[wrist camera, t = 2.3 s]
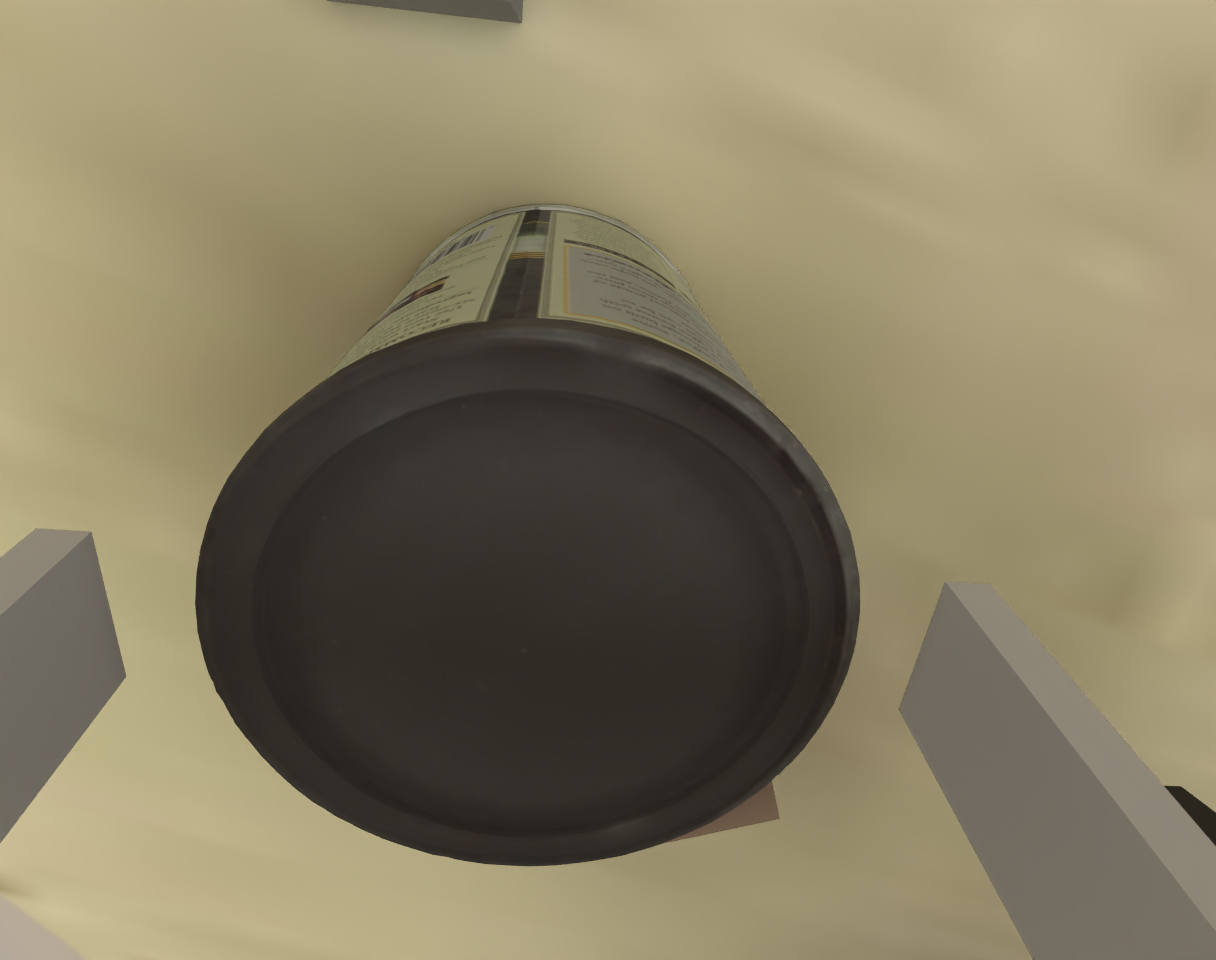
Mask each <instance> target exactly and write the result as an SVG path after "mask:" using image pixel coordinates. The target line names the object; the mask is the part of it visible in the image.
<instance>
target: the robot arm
mask: <svg viewBox="0 0 1216 960" xmlns="http://www.w3.org/2000/svg"><path fill="white" fill-rule="evenodd" d="M125 678H126V673H125V669H124V665H123V661H122V657H121V653H120V648H119V644H118V640H117V636H116V632H115V628H114V624H113V620H112V615H111V611H110V607H109V603H108V599H107V595H106V591H105V586H104V582H103V578H102V574H101V570H100V566H99V562H98V557H97V553H96V549H95V545H94V541H93V537H92V533H91V532H88V531H71V530H54V529H37V528H36V529H35V530H33V531H32V532H31V533H30V534H29V535H27V536H26V537H25V538H24V539H22V540H21V541H20V542H19V543H18V544H16V545H15V546H14V547H13V548H12V549H10V550H9V551H8V552H7V553H5V554H4V555H3V556H2V557H1V558H0V843H1V842H2V840H3V839H4V838H5V836H6V835H7V834H8V832H9V831H10V830H11V828H12V827H13V826H14V824H15V823H16V822H17V820H18V819H19V818H20V816H21V815H22V814H23V812H24V811H25V810H26V809H27V807H28V806H29V805H30V803H31V802H32V801H33V799H34V798H35V797H36V795H37V794H38V793H39V791H40V790H41V789H42V787H43V786H44V785H45V783H46V782H47V781H48V779H49V778H50V777H51V775H52V774H53V773H54V771H55V770H56V769H57V768H58V766H59V765H60V764H61V762H62V761H63V760H64V758H65V757H66V756H67V754H68V753H69V752H70V750H71V749H72V748H73V746H74V745H75V744H76V742H77V741H78V740H79V738H80V737H81V736H82V734H83V733H84V732H85V731H86V729H87V728H88V727H89V725H90V724H91V723H92V721H93V720H94V719H95V717H96V716H97V715H98V713H99V712H100V711H101V709H102V708H103V707H104V705H105V704H106V703H107V701H108V700H109V699H110V697H111V696H112V695H113V693H114V692H115V691H116V690H117V688H118V687H119V686H120V684H121V683H122V682H123V680H124V679H125ZM899 711H900V713H901V714H902V716H903V718H904V720H905V722H906V724H907V726H908V727H909V729H910V731H911V733H912V735H913V737H914V739H915V740H916V742H917V744H918V746H919V748H920V750H921V752H922V753H923V755H924V757H925V759H926V761H927V763H928V765H929V766H930V768H931V770H932V772H933V774H934V776H935V778H936V780H937V781H938V783H939V785H940V787H941V789H942V791H943V793H944V794H945V796H946V798H947V800H948V802H949V804H950V806H951V807H952V809H953V811H954V813H955V815H956V817H957V819H958V820H959V822H960V824H961V826H962V828H963V830H964V832H965V833H966V835H967V837H968V839H969V841H970V843H971V845H972V846H973V848H974V850H975V852H976V854H977V856H978V858H979V860H980V861H981V863H982V865H983V867H984V869H985V871H986V873H987V874H988V876H989V878H990V880H991V882H992V884H993V886H994V887H995V889H996V891H997V893H998V895H999V897H1000V899H1001V900H1002V902H1003V904H1004V906H1005V908H1006V910H1007V912H1008V913H1009V915H1010V917H1011V919H1012V921H1013V923H1014V925H1015V926H1016V928H1017V930H1018V932H1019V934H1020V936H1021V938H1022V940H1023V941H1024V943H1025V945H1026V947H1027V949H1028V951H1029V953H1030V954H1031V956H1032V958H1033V960H1216V813H1215V812H1214V811H1213V810H1211V809H1210V808H1209V807H1207V806H1206V805H1205V804H1204V803H1202V802H1201V801H1200V800H1198V799H1197V798H1196V797H1194V796H1193V795H1192V794H1190V793H1189V792H1188V791H1186V790H1185V789H1184V788H1182V787H1181V786H1163V784H1162V783H1161V782H1160V781H1159V780H1158V779H1157V777H1156V776H1155V775H1154V774H1153V773H1152V772H1151V770H1150V769H1149V768H1148V767H1147V766H1146V765H1145V763H1144V762H1143V761H1142V760H1141V759H1140V758H1139V757H1138V755H1137V754H1136V753H1135V752H1134V751H1133V750H1132V748H1131V747H1130V746H1129V745H1128V744H1127V743H1126V741H1125V740H1124V739H1123V738H1122V737H1121V736H1120V734H1119V733H1118V732H1117V731H1116V730H1115V729H1114V727H1113V726H1112V725H1111V724H1110V723H1109V722H1108V720H1107V719H1106V718H1105V717H1104V716H1103V715H1102V714H1101V712H1100V711H1099V710H1098V709H1097V708H1096V707H1095V705H1094V704H1093V703H1092V702H1091V701H1090V700H1089V698H1088V697H1087V696H1086V695H1085V694H1084V693H1083V691H1082V690H1081V689H1080V688H1079V687H1078V686H1077V684H1076V683H1075V682H1074V681H1073V680H1072V679H1071V677H1070V676H1069V675H1068V674H1067V673H1066V672H1065V671H1064V669H1063V668H1062V667H1061V666H1060V665H1059V664H1058V662H1057V661H1056V660H1055V659H1054V658H1053V657H1052V655H1051V654H1050V653H1049V652H1048V651H1047V650H1046V648H1045V647H1044V646H1043V645H1042V644H1041V643H1040V641H1039V640H1038V639H1037V638H1036V637H1035V636H1034V634H1033V633H1032V632H1031V631H1030V630H1029V629H1028V628H1027V626H1026V625H1025V624H1024V623H1023V622H1022V621H1021V619H1020V618H1019V617H1018V616H1017V615H1016V614H1015V612H1014V611H1013V610H1012V609H1011V608H1010V607H1009V605H1008V604H1007V603H1006V602H1005V601H1004V600H1003V598H1002V597H1001V596H1000V595H999V594H998V593H997V592H996V590H995V589H994V588H993V587H992V586H991V585H990V584H979V583H962V582H945V584H944V586H943V589H942V592H941V595H940V597H939V600H938V603H937V606H936V608H935V611H934V614H933V617H932V619H931V622H930V625H929V628H928V631H927V633H926V636H925V639H924V642H923V644H922V647H921V650H920V653H919V655H918V658H917V661H916V664H915V666H914V669H913V672H912V675H911V677H910V680H909V683H908V686H907V688H906V691H905V694H904V697H903V699H902V702H901V705H900V708H899Z"/></svg>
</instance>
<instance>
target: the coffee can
mask: <svg viewBox="0 0 1216 960" xmlns="http://www.w3.org/2000/svg"><path fill="white" fill-rule="evenodd" d="M195 606H196V617H197V629H198V635H199V639H200V643H201V648H202V652H203V656H204V660H205V663H206V666H207V669H208V672H209V675H210V677H211V679H212V681H213V682H214V686H215V689H216V692H217V693H218V695H219V696H220V697H221V699H222V700H223V702H224V704H225V706H226V707H227V709H228V711H229V713H230V715H231V717H232V718H233V720H234V722H235V724H236V725H237V726H238V727H239V729H240V730H241V731H242V733H243V734H244V735H245V737H246V738H247V739H248V740H249V741H250V743H251V744H252V745H253V746H254V747H255V749H256V750H257V751H258V752H259V753H260V755H261V756H262V757H263V758H264V759H265V760H266V761H267V762H268V763H269V764H270V765H271V766H272V767H273V768H274V769H275V770H276V771H277V772H278V773H279V774H280V775H281V776H282V777H283V778H284V779H285V780H287V781H288V782H289V783H290V784H291V785H292V786H293V787H294V788H295V789H297V790H298V791H299V792H301V793H302V794H303V795H305V796H306V797H307V798H309V799H310V800H311V801H313V802H314V803H316V804H317V805H319V806H321V807H322V808H324V809H326V810H327V811H329V812H330V813H332V814H333V815H335V816H337V817H339V818H341V819H343V820H345V821H347V822H349V823H351V824H353V825H354V826H356V827H358V828H360V829H362V830H364V831H367V832H369V833H372V834H374V835H376V836H379V837H381V838H383V839H386V840H389V841H391V842H394V843H397V844H400V845H403V846H406V847H410V848H413V849H416V850H419V851H423V852H426V853H429V854H432V855H439V856H445V857H450V858H453V859H458V860H463V861H469V862H476V863H482V864H495V865H512V866H548V865H562V864H571V863H580V862H587V861H595V860H600V859H606V858H611V857H617V856H622V855H626V854H629V853H633V852H636V851H639V850H643V849H646V848H650V847H653V846H656V845H659V844H662V843H664V842H667V841H669V840H672V839H675V838H677V837H680V836H683V835H685V834H687V833H690V832H692V831H694V830H696V829H699V828H701V827H703V826H705V825H707V824H709V823H712V822H713V821H715V820H717V819H718V818H720V817H722V816H723V815H725V814H727V813H728V812H730V811H732V810H733V809H735V808H736V807H738V806H739V805H741V804H742V803H744V802H745V801H746V800H748V799H749V798H751V797H752V796H754V795H755V794H756V793H758V792H759V791H760V790H762V789H763V788H764V787H765V786H766V785H768V784H769V783H770V782H771V781H772V780H773V779H774V778H775V776H777V775H778V774H780V773H781V772H782V771H783V769H784V768H785V767H786V766H788V765H789V764H790V763H791V762H792V761H793V760H794V759H795V758H796V757H797V755H798V754H799V753H800V752H801V751H802V750H803V749H804V748H805V746H806V745H807V743H808V742H809V741H810V739H811V738H812V737H813V735H814V734H815V733H816V731H817V730H818V729H819V728H820V726H821V724H822V722H823V721H824V719H825V717H826V716H827V714H828V712H829V711H830V709H831V708H832V706H833V704H834V702H835V700H836V697H837V695H838V693H839V691H840V689H841V686H842V684H843V682H844V680H845V677H846V675H847V672H848V669H849V666H850V662H851V659H852V655H853V652H854V647H855V643H856V637H857V630H858V623H859V615H860V585H859V572H858V567H857V562H856V556H855V551H854V547H853V542H852V537H851V533H850V530H849V528H848V525H847V523H846V521H845V518H844V516H843V513H842V511H841V509H840V506H839V504H838V501H837V499H836V497H835V495H834V493H833V491H832V489H831V487H830V485H829V483H828V481H827V480H826V478H825V477H824V475H823V473H822V472H821V470H820V469H819V467H818V465H817V464H816V463H815V461H814V460H813V459H812V457H811V456H810V455H809V453H808V452H807V451H806V449H805V448H804V447H803V445H802V444H801V443H800V442H799V440H798V439H797V438H796V437H795V436H794V435H793V434H792V433H791V431H790V430H789V429H788V428H787V427H786V426H785V425H784V424H783V423H782V422H781V421H780V420H779V419H778V418H777V417H776V416H775V415H774V414H773V413H772V412H771V411H770V410H768V409H767V407H766V406H765V404H764V403H763V401H762V400H761V398H760V397H759V395H758V394H757V392H756V391H755V389H754V388H753V386H752V385H751V383H750V382H749V380H748V379H747V377H746V376H745V374H744V373H743V372H742V370H741V369H740V367H739V366H738V364H737V363H736V361H735V360H734V358H733V357H732V355H731V354H730V352H729V351H728V349H727V348H726V346H725V345H724V343H723V341H722V339H721V338H720V337H719V335H718V334H717V333H716V331H715V330H714V328H713V327H712V326H711V324H710V323H709V321H708V320H707V318H706V316H705V315H704V313H703V311H702V310H701V309H700V307H699V306H698V304H697V302H696V300H695V298H694V296H693V294H692V292H691V290H690V288H689V286H688V284H687V283H686V281H685V280H684V278H683V277H682V275H681V274H680V273H679V271H678V270H677V269H676V267H675V266H674V264H673V263H672V262H671V261H670V260H669V259H668V258H667V257H666V256H665V255H664V253H663V252H662V251H660V250H659V249H658V248H657V247H656V246H655V245H654V244H653V243H652V242H650V241H649V240H648V239H646V238H645V237H644V236H642V235H641V234H639V233H638V232H636V231H635V230H633V229H632V228H630V227H629V226H627V225H626V224H624V223H623V222H621V221H618V220H616V219H613V218H610V217H607V216H604V215H602V214H599V213H597V212H595V211H591V210H586V209H582V208H577V207H572V206H567V205H551V204H538V205H528V206H520V207H514V208H509V209H505V210H502V211H499V212H492V213H490V214H489V215H487V216H485V217H483V218H480V219H478V220H476V221H474V222H472V223H470V224H468V225H467V226H465V227H463V228H462V229H460V230H459V231H457V232H456V233H454V234H453V235H451V236H450V237H448V238H447V239H446V240H445V241H444V242H442V243H441V244H440V245H439V246H438V247H437V248H436V249H435V250H434V251H433V252H432V253H431V254H430V255H429V256H428V257H427V258H426V259H425V261H424V262H423V263H422V264H421V266H420V267H419V268H418V270H417V271H416V272H415V274H414V275H413V277H412V278H411V280H410V281H409V283H408V284H407V285H406V286H405V287H404V289H403V290H402V291H401V292H400V293H399V294H398V296H397V297H396V298H395V299H394V301H393V302H392V303H391V304H390V305H389V306H388V308H387V309H386V310H385V311H384V312H383V313H382V314H381V316H380V317H379V318H378V319H377V320H376V322H375V323H374V324H373V325H372V326H371V327H370V329H369V330H368V331H367V332H366V333H365V334H364V336H363V337H362V338H361V339H360V340H359V341H358V342H357V343H356V344H355V345H354V346H353V347H352V348H351V349H350V350H349V352H348V353H347V354H346V355H345V356H344V358H343V359H342V360H341V361H340V362H339V364H338V365H337V366H336V367H335V369H334V370H333V371H332V372H331V373H330V375H329V376H328V377H327V378H326V379H325V381H323V382H322V383H320V384H319V385H318V386H316V387H315V388H313V389H312V390H311V391H309V392H308V393H307V394H305V395H304V396H303V397H302V398H300V399H299V400H298V401H296V402H295V403H294V404H293V405H292V406H290V407H289V408H288V409H287V410H286V411H284V412H283V413H282V414H281V415H280V416H279V417H278V418H277V419H276V420H275V421H274V422H273V423H271V424H270V425H269V426H268V427H267V428H266V429H265V430H264V431H263V433H262V434H261V435H260V436H259V438H258V439H257V440H256V441H255V442H254V444H253V445H252V446H251V447H250V449H249V450H248V451H247V452H246V453H245V455H244V456H243V457H242V459H241V460H240V462H239V463H238V464H237V466H236V467H235V469H234V470H233V472H232V473H231V474H230V476H229V477H228V479H227V481H226V483H225V485H224V486H223V488H222V490H221V492H220V494H219V496H218V498H217V500H216V503H215V505H214V507H213V509H212V512H211V515H210V518H209V521H208V523H207V526H206V530H205V534H204V538H203V542H202V545H201V549H200V555H199V562H198V568H197V576H196V599H195Z"/></svg>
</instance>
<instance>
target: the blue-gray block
mask: <svg viewBox="0 0 1216 960" xmlns="http://www.w3.org/2000/svg"><path fill="white" fill-rule="evenodd" d="M328 1H333V2H342V3H351V4H359V5H368V6H376V7H385V8H394V9H402V10H411V11H420V12H428V13H437V14H446V15H454V16H463V17H472V18H480V19H489V20H498V21H506V22H515V23H522V8H523V0H328Z"/></svg>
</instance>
